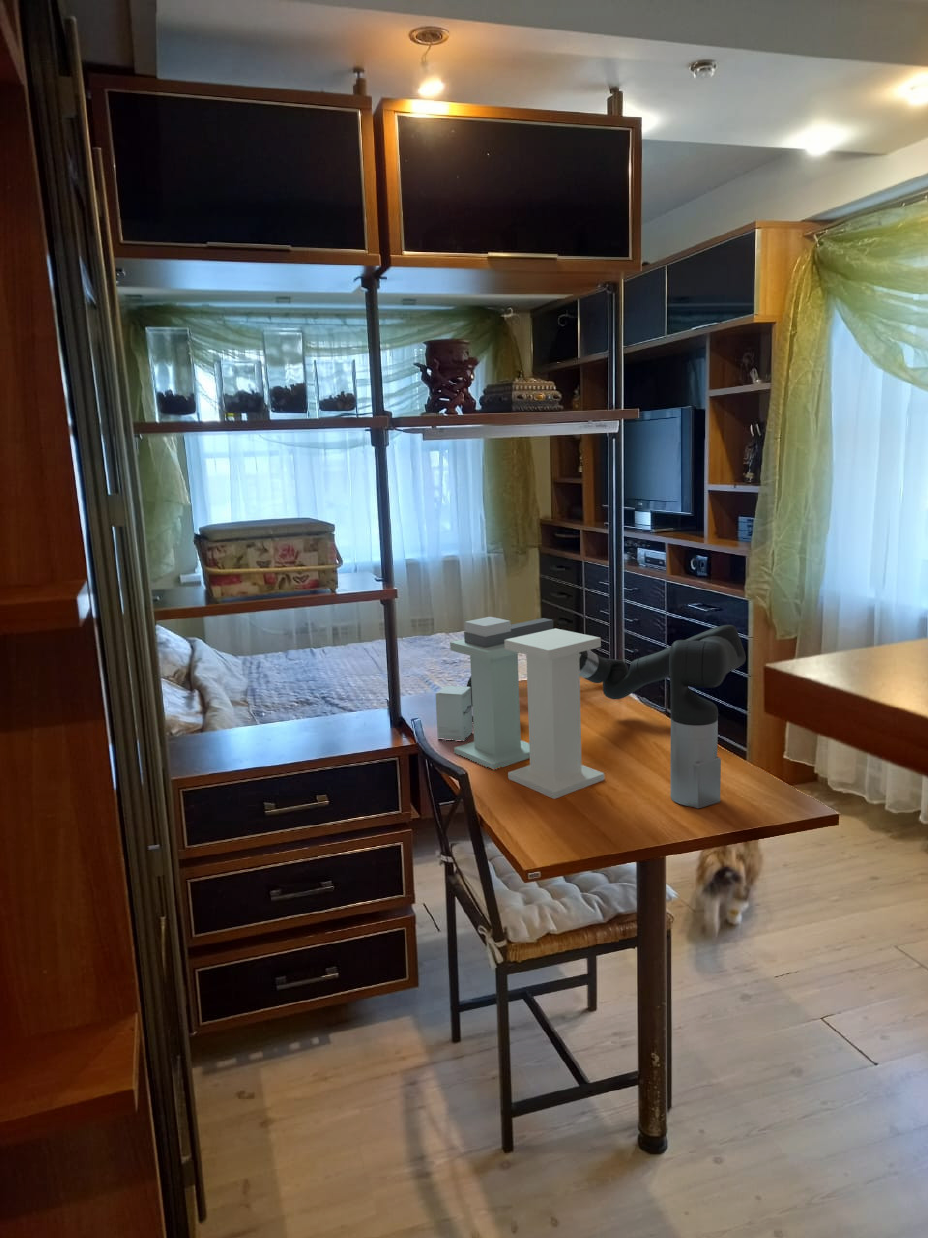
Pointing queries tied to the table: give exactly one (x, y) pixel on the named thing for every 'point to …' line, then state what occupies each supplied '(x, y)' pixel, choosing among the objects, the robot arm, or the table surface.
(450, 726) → the supplement box
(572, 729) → the tall pedestal
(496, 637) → the block
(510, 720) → the low pedestal
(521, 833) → the table surface
